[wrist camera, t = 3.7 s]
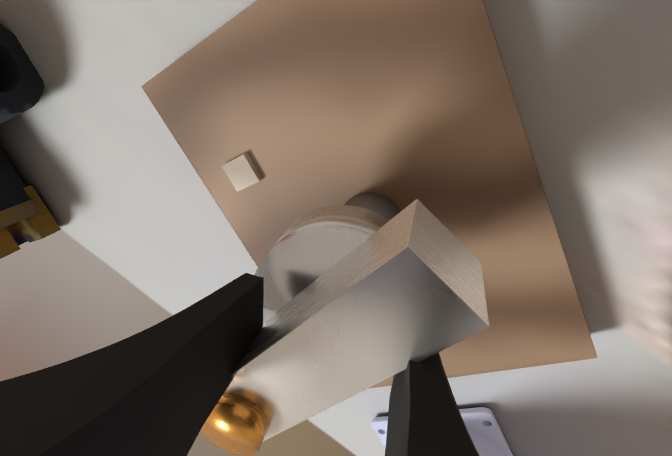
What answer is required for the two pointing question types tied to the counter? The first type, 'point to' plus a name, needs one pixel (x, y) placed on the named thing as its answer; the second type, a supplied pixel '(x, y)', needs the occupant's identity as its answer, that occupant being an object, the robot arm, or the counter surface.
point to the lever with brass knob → (346, 316)
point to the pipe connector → (3, 181)
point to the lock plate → (381, 148)
